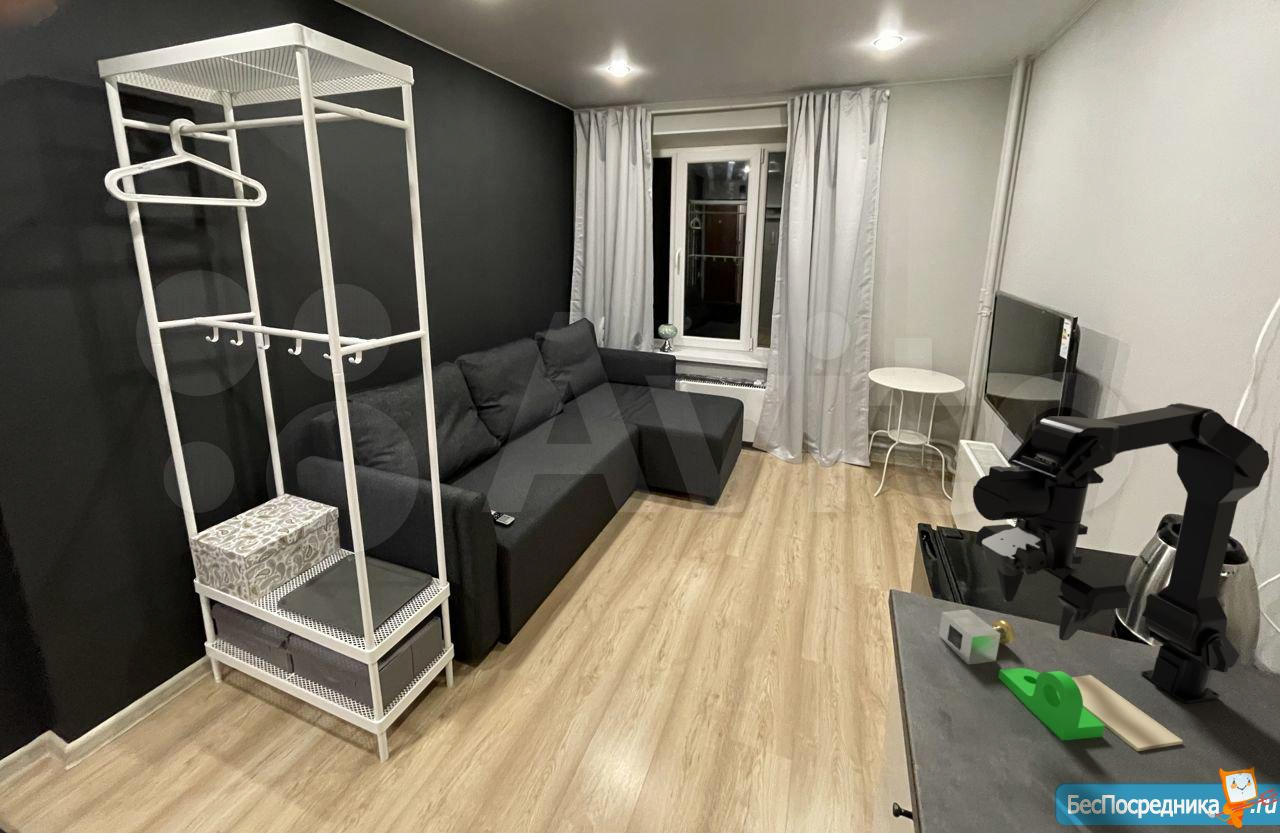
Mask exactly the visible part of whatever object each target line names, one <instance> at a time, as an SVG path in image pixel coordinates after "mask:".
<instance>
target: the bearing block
mask: <svg viewBox="0 0 1280 833" xmlns="http://www.w3.org/2000/svg"><path fill="white" fill-rule="evenodd" d="M939 625H940V626H939V632H938V637H939V639H941V640H942V641H943V642H944V643H945V644H947V645H948V647H949V648H950V649H951V650H952V651H953V652H955V654H957V656H959V657H960V658H961V659H962V661H964V662H965V664H967V665H975V664H976V665H977V664H984V663H985V664H986V663H990V662H991V663H992V662H993V663H994V662H996V661H997V656H998V652H999V646H1000V643H999V640H1000V633H999V632H998V631H996V630H995V629H994V628H992V627H991V626H992V625H989V624H988V623H987V622H986V621H984V620H983V619H982V618H980V617H979V616H978V615H977V614H976V613H974V612H972V611H971V610H970V609H959V610H958V609H957V610H951V611H942V612H941V618H940V624H939Z"/></svg>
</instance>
